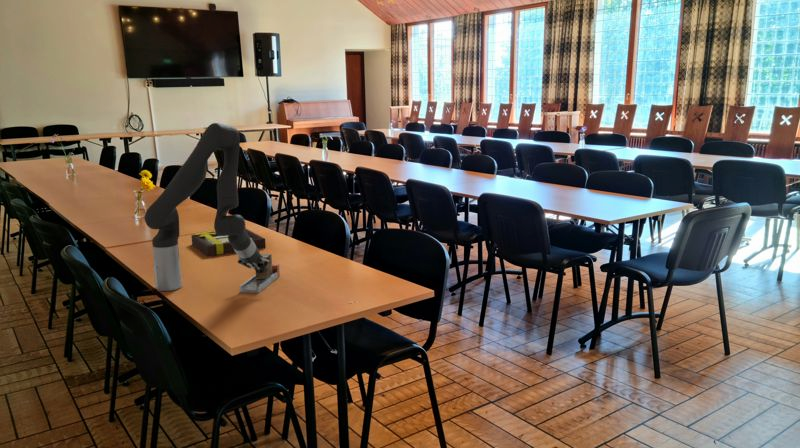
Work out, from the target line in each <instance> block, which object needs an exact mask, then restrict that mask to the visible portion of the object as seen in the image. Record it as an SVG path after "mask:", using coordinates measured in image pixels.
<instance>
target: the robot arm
mask: <svg viewBox="0 0 800 448" xmlns="http://www.w3.org/2000/svg"><path fill="white" fill-rule="evenodd" d="M240 139H241V137H240V133H239V130H238V129H237V128H236V127H235V126H233V125H229V124H224V123H219V122H214V123H210V124H209V125H208V126H207V127H206V129H205V130H204V132H203V134H202V135H201V136H200V138H199V141H198V142H197V143H196V146H195V147H194V149H193V150H192V152H191V153H190V155H189V156H188V158H187V159H186V161H184V163H183V164H182V165H181V166H180V168H179V169H178V171H177V172H176V173H175V175H174V176H173V178H172V180H171V181H169V183H168V184H167V186H166V187H165V189H164V190H163V191H162V193H161V194H159V196H158V198H156V199H155V200H154V202H153V203H152V204H150V205H149V206H148V207H147V209H146V211H145V214H144V221H145V224H146V226H147V227H148V228H149V229H152V230H158V231H157V233H156V234H155V236H153V237H152V238H151V239H152V241H151V243H152V254H153V263H154V264H153V271H154V272H153V273H154V280H155V281H154V282H155V288H156V290H157V292H169V291H175V290H178V289H181V288H182V287H183V281H182V274H181V273H182V271H181V261H180V260H181V259H180V249H179V248H180V247H179V238H180V215H179V211H178V209H177V207H178V206H179V205H180V204H181V203H183V202H184V201H186V200H187V199H189V198H190V197H191V196H192V195H194V194H195V192H196V191H197V190H198V189H199V188H200V187H201V185H202V184H203V183H204V182H205V179H206V177H207V166H208V165H207V163H208V160H209V159H210V157H211V156H212V155H213V153H215V151H217V150H219V151H222V152H223V156H224V158H223V159H224V162H223V166H222V169H221V172H220V173H219V176H218V179H217V184H216V195H217V196H216V197H217V208H216V213H215V218H214V223H213V228H214V229H213V230H214V232H216V233H217V234H218V235H219V236H228V240H229V242H230V244H231V245H232V247H233V248H234V251H235V252H236V253H235V254H236V255H237V256H238V259H237V263H238V264H240V265H242V266H243V267H246V268H248V269H251V268H252V269H253V270H254V271H255V273H256V272H258V273H262V272H263V270H264V268H265V267H266V266H267V265H268V262H269V258H263V256H262V255H260V254H261V253H260V249H258V248H257V247H256V245H255V243H254V242H253V240H252V239H251V238H250V237H249V235H248V234H247V231H246V229H247V228H246V220H245V217H244V216H243V215H241V214H230V215H228V212H229V211H230V210H233V209H237V207H239V192H238V169H239V157H240V156H239V154H240V147H241V146H240V144H241V142H240V141H241V140H240ZM261 261H263V262H262V263H261Z"/></svg>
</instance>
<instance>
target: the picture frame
mask: <svg viewBox="0 0 800 448" xmlns="http://www.w3.org/2000/svg"><path fill="white" fill-rule="evenodd" d="M246 231H247V234H248V235H249V237H250V238H251V239H252V240H253V242H254V243H255V245H256V247H257V248H258V250H263V249H266V248H267V247H266V246H267V245H266V238H264V237H263V236H262V235H259V234H258V233H255V232H253V231H251V230H250V229H248V228H246ZM191 244H192V246H193V247H195V248H196V249H197V250H199V252H201V253H202V254H203V253H204V254H203V255H205V256H206V257H208V258H209V257H210V258H211V257H215V256H216V257H217V256H222V255H229V254H236V252H235V251H234V248H233V247H232V245H231V244H230V242H229V240H228V236H219V235H218V234H217V233H216V232H215V230H209V231H205V232H199V233H193V234H192V235H191Z"/></svg>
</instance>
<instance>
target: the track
mask: <svg viewBox="0 0 800 448" xmlns="http://www.w3.org/2000/svg"><path fill="white" fill-rule="evenodd" d="M280 275H281V274H280V264H279V263H277V264H275V263H272V275H271V276H269V277H268V278H267V279H256V274H254V275H253V276H251V277H250V278H249V279H247V280H246V281H245V282H243V283H242V284H240V285H239V293H252V294H253V293H254V294H259V293H261V292H262V291H263V290H264V289H266V288H267V287H269V286H270V285H271V284H272V283H273V282H274V281H275V280H277V279H278V278H279V277H280Z"/></svg>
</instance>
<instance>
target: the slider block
mask: <svg viewBox="0 0 800 448" xmlns="http://www.w3.org/2000/svg"><path fill="white" fill-rule="evenodd" d="M260 255H262V256H263V258H269V262H268V265H267V266H266V267H265V268H264V270H263V272H262V273H258V272H256V271H255V275H256V279H267V278H268V277H269V276H271V275H272V264H273V261H272V260H273V258H272V253H260ZM262 262H263V261H261V263H262Z"/></svg>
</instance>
